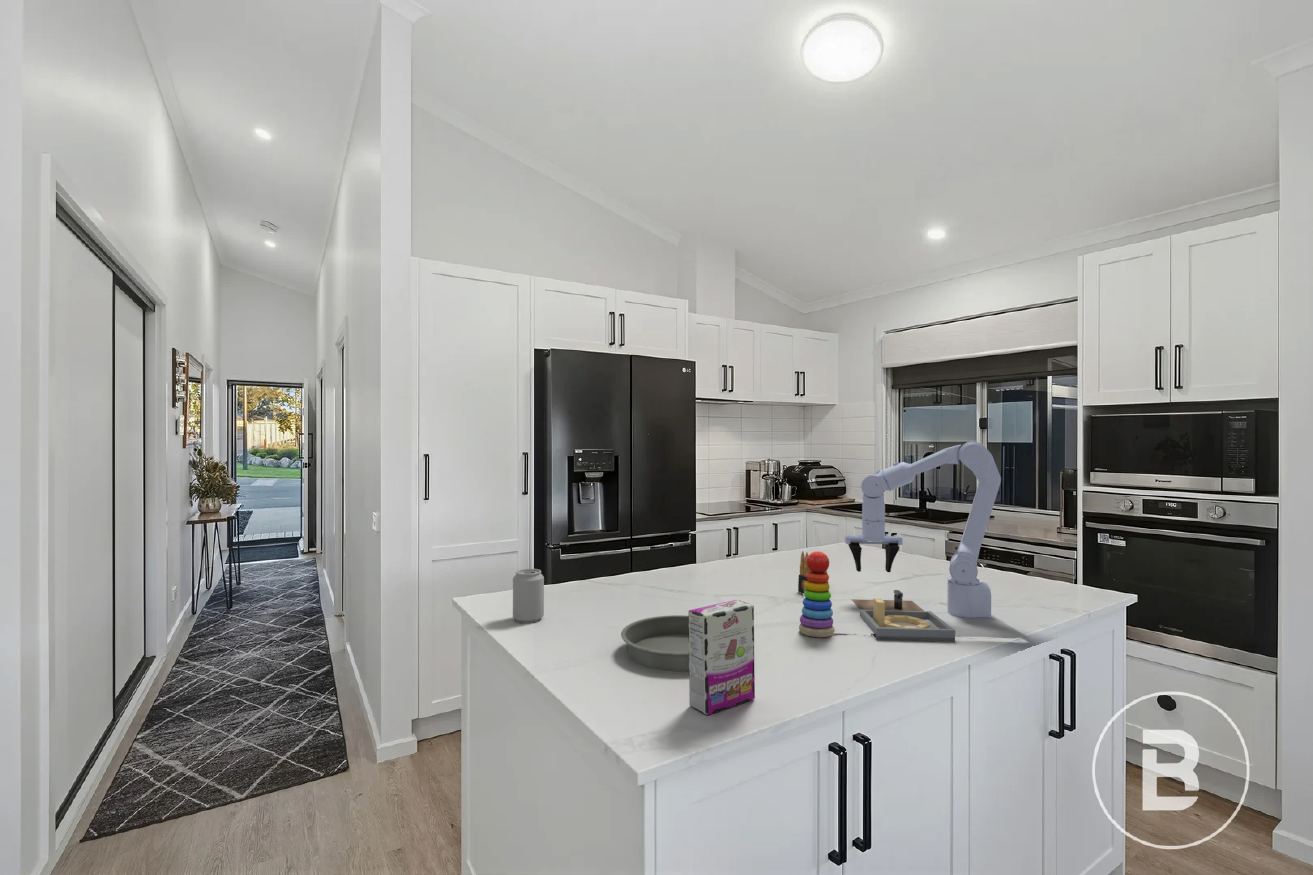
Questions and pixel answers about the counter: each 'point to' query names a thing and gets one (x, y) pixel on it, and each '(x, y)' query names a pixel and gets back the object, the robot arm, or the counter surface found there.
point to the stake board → (887, 605)
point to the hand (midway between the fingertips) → (873, 571)
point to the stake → (898, 599)
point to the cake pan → (659, 642)
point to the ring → (894, 617)
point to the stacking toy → (817, 599)
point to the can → (528, 595)
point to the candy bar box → (721, 656)
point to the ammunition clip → (803, 572)
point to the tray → (910, 633)
